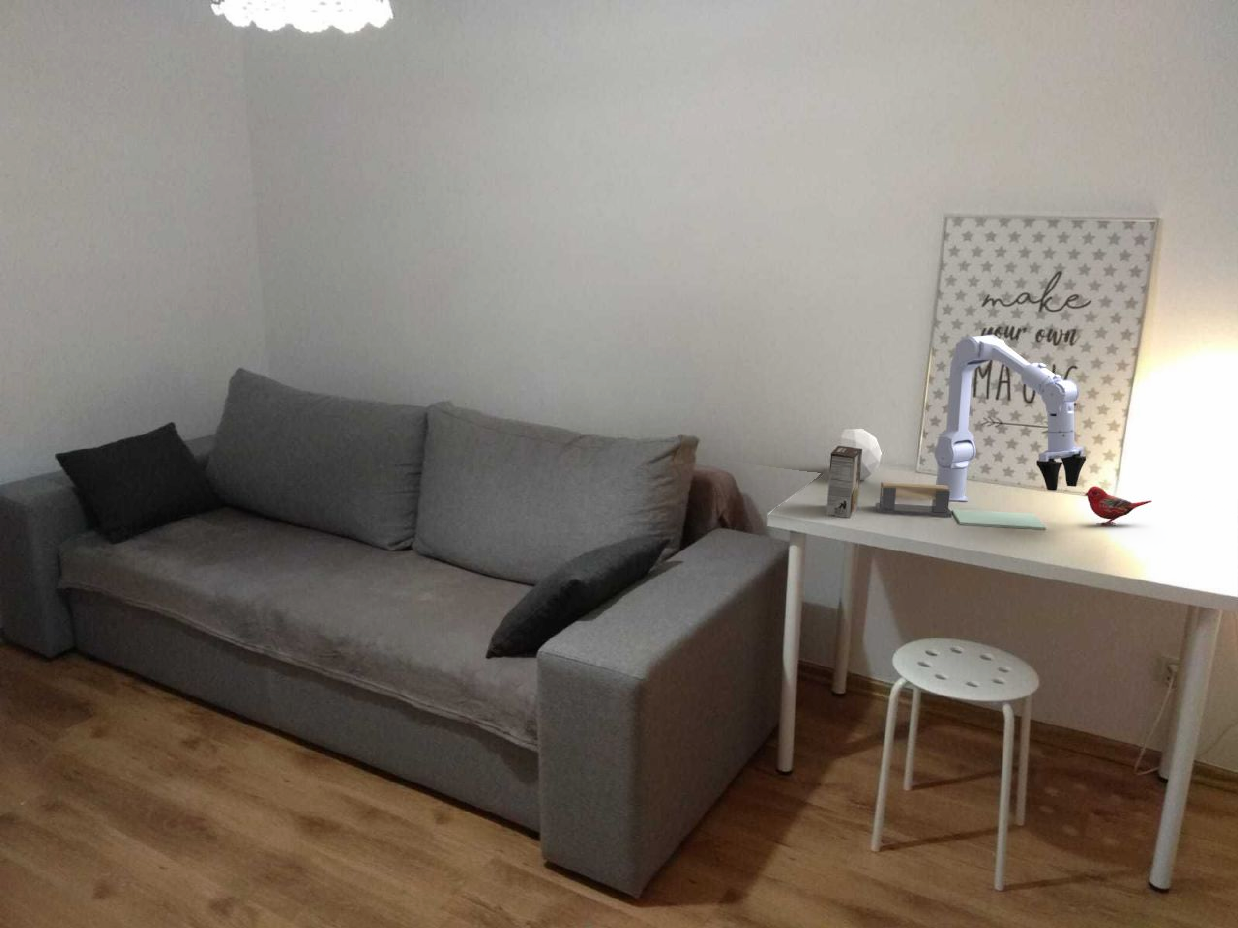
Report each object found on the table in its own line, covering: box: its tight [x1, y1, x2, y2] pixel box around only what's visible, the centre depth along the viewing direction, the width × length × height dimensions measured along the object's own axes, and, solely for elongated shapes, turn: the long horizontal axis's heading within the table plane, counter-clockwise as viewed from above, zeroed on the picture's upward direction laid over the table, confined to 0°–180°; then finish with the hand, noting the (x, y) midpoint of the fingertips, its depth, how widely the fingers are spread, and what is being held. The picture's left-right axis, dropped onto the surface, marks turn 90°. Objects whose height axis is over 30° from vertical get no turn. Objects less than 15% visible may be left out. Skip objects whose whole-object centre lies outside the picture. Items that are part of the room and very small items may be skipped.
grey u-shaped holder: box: [874, 482, 953, 518], centre depth 240 cm, size 6×18×6 cm, turn 81°
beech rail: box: [880, 481, 949, 500], centre depth 239 cm, size 3×16×3 cm, turn 81°
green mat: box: [951, 508, 1047, 531], centre depth 235 cm, size 11×20×1 cm, turn 81°
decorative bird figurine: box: [1084, 486, 1152, 526], centre depth 232 cm, size 3×18×10 cm, turn 95°
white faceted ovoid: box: [827, 428, 883, 481], centre depth 271 cm, size 14×15×20 cm
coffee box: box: [825, 446, 862, 519], centre depth 238 cm, size 9×6×16 cm
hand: (1061, 488), depth 226 cm, fingers open, 7 cm apart
